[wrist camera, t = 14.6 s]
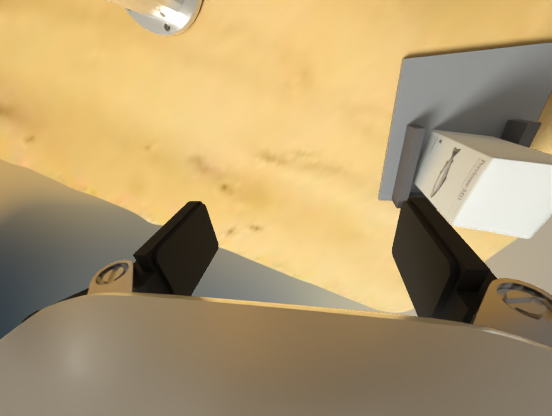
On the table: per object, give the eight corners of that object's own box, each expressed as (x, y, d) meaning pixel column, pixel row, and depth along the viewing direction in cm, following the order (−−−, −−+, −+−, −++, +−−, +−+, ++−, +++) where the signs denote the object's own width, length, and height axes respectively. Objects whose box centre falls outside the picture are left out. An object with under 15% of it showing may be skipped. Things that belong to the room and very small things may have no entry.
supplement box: (430, 128, 28) (495, 154, 17) (492, 135, 27) (602, 168, 16) (407, 179, 32) (449, 226, 21) (461, 187, 31) (533, 241, 20)
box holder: (402, 59, 26) (413, 55, 22) (569, 41, 22) (610, 33, 19) (378, 198, 35) (383, 209, 32) (493, 200, 31) (512, 213, 28)
